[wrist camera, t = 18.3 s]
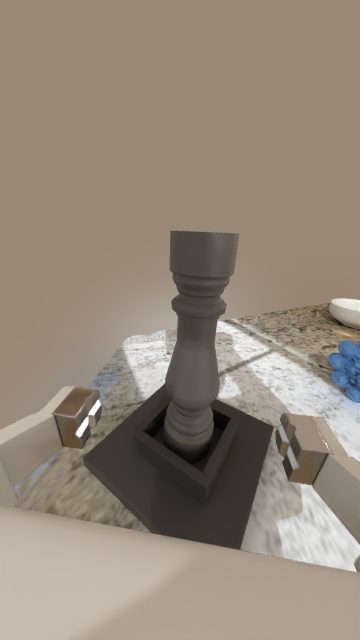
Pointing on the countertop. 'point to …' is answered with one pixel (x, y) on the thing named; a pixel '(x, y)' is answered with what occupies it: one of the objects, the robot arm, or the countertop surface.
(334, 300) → the cereal bowl
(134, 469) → the display stand
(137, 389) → the countertop surface
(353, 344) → the grapes
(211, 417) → the candle holder
